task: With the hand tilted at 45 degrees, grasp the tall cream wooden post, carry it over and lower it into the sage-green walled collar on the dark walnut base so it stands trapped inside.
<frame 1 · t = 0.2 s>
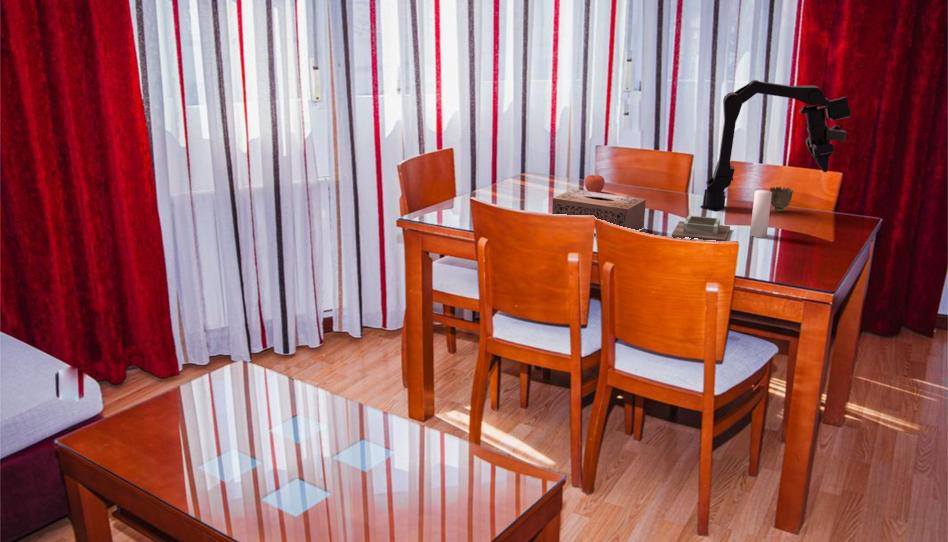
hand: (823, 169, 283), 15 cm above the table, tool pointing down, fingers open, 9 cm apart
cream post: (758, 235, 263), on the table
cup: (778, 212, 291), on the table
collar seat: (701, 233, 265), on the table
tissue box cover: (597, 229, 272), on the table
apple: (594, 193, 315), on the table
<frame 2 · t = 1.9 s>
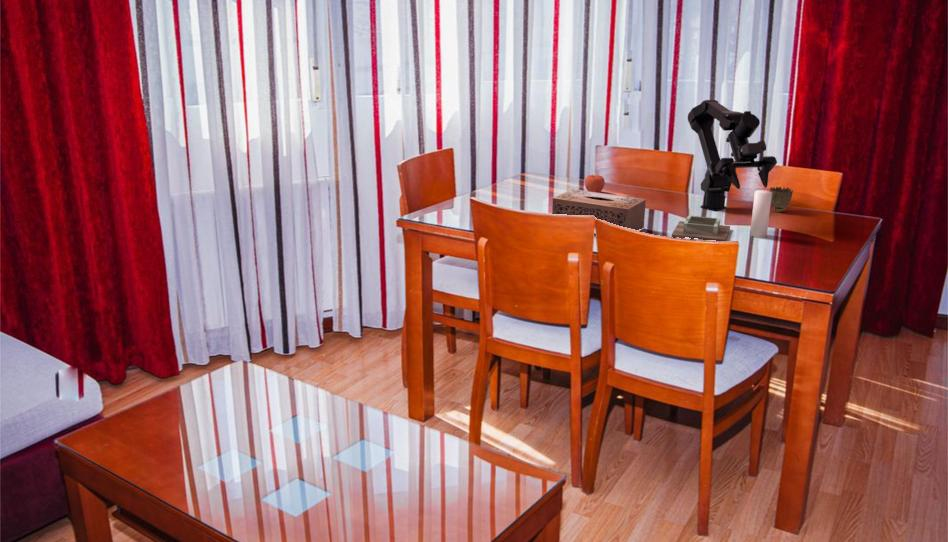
hand: (752, 187, 267), 13 cm above the table, tool tilted 45°, fingers open, 9 cm apart
nothing on the table moved.
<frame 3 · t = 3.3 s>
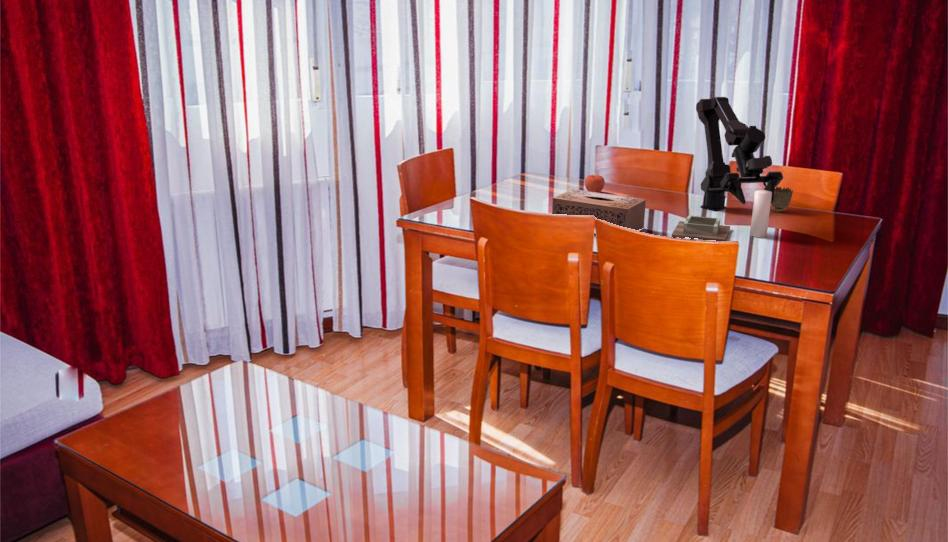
hand: (758, 203, 262), 10 cm above the table, tool tilted 45°, fingers open, 9 cm apart
nothing on the table moved.
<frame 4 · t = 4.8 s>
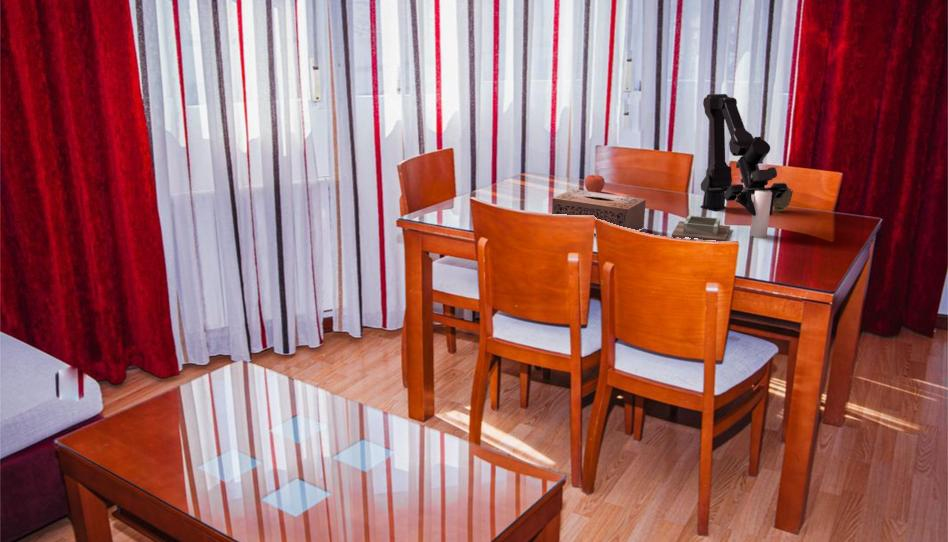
hand: (762, 215, 260), 7 cm above the table, tool tilted 45°, fingers closed on cream post, 5 cm apart
cream post: (758, 235, 263), on the table, touching gripper
everything else where it was.
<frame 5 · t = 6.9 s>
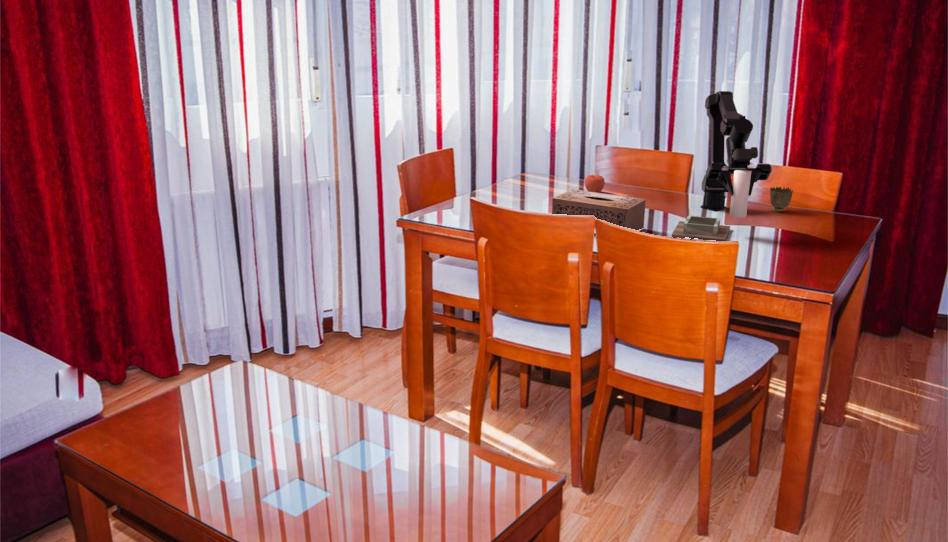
hand: (741, 195, 257), 13 cm above the table, tool tilted 45°, fingers closed on cream post, 5 cm apart
cream post: (737, 215, 261), point 6 cm above the table, touching gripper
everything else where it was.
when the fingers open (10 cm above the table, at t = 9.1 s): cream post drops 1 cm, resting on collar seat.
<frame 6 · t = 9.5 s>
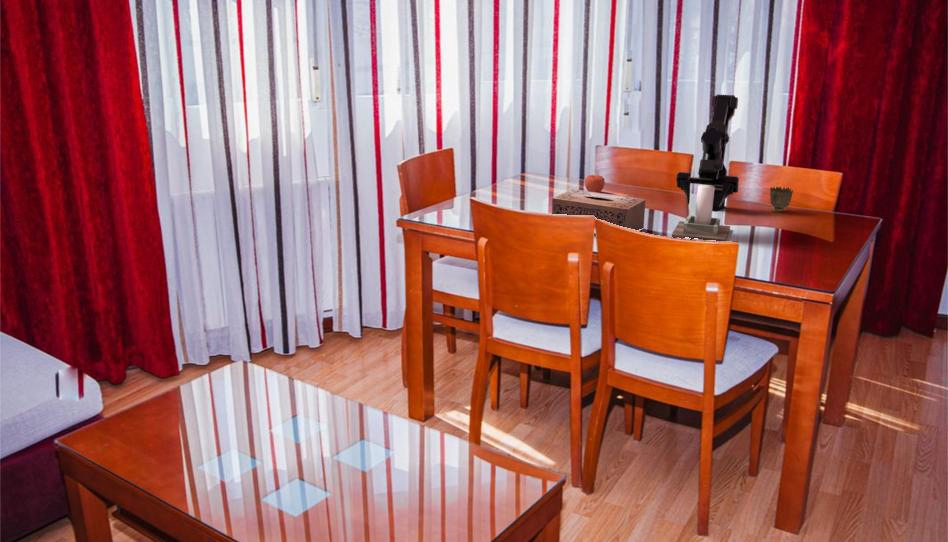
hand: (703, 205, 261), 10 cm above the table, tool tilted 45°, fingers open, 9 cm apart
cream post: (701, 229, 265), point 1 cm above the table, touching collar seat
everything else where it was.
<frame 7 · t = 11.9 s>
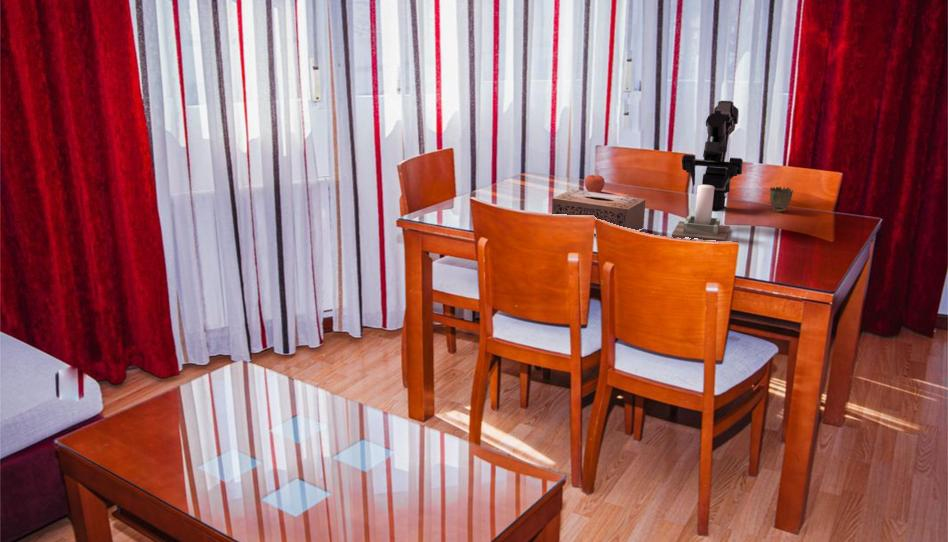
hand: (708, 186, 268), 14 cm above the table, tool tilted 45°, fingers open, 9 cm apart
nothing on the table moved.
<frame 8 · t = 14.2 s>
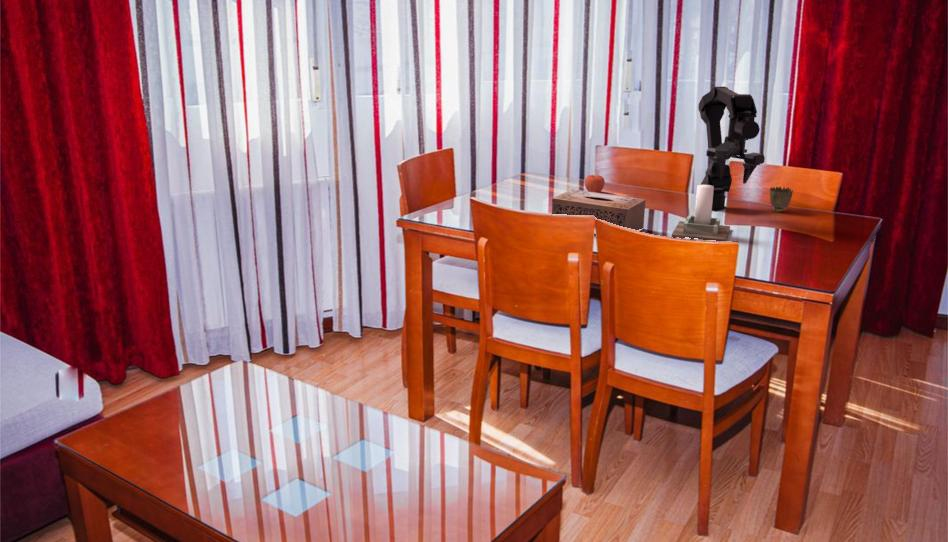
hand: (732, 181, 277), 13 cm above the table, tool pointing down, fingers open, 9 cm apart
nothing on the table moved.
at the end: cream post 0.1 cm off-centre on the collar seat, point 1.2 cm above the collar seat's base; cream post tilted 1°; the gripper is holding nothing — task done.
